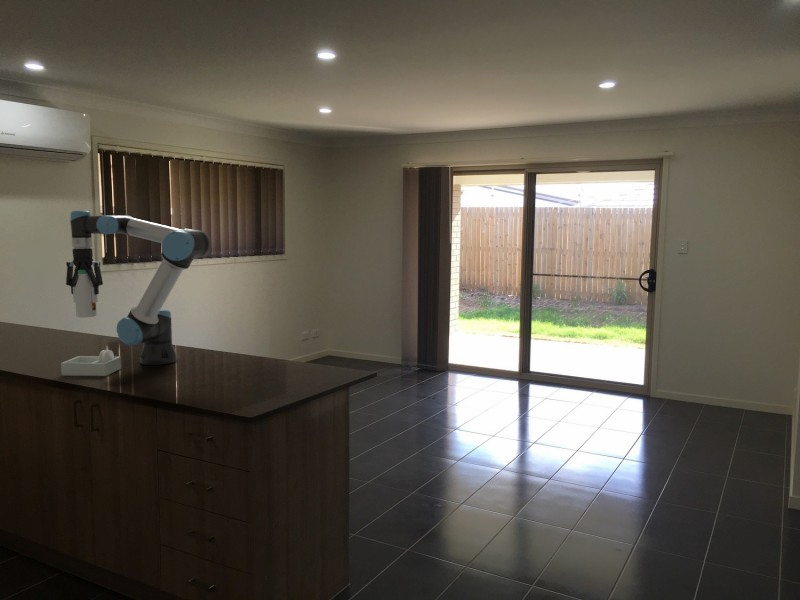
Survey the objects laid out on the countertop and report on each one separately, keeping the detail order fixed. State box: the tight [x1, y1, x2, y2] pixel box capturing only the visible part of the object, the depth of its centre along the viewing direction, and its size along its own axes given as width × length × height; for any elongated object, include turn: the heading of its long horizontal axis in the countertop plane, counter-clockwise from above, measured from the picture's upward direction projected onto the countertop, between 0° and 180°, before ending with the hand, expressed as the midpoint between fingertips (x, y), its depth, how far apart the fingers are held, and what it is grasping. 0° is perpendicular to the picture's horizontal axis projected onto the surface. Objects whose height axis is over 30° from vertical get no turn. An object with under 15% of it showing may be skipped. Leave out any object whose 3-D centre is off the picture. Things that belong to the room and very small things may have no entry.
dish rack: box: [60, 349, 122, 377], centre depth 265 cm, size 13×18×9 cm
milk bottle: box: [74, 270, 97, 318], centre depth 274 cm, size 8×8×20 cm
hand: (85, 302), depth 275 cm, fingers closed on milk bottle, 7 cm apart
